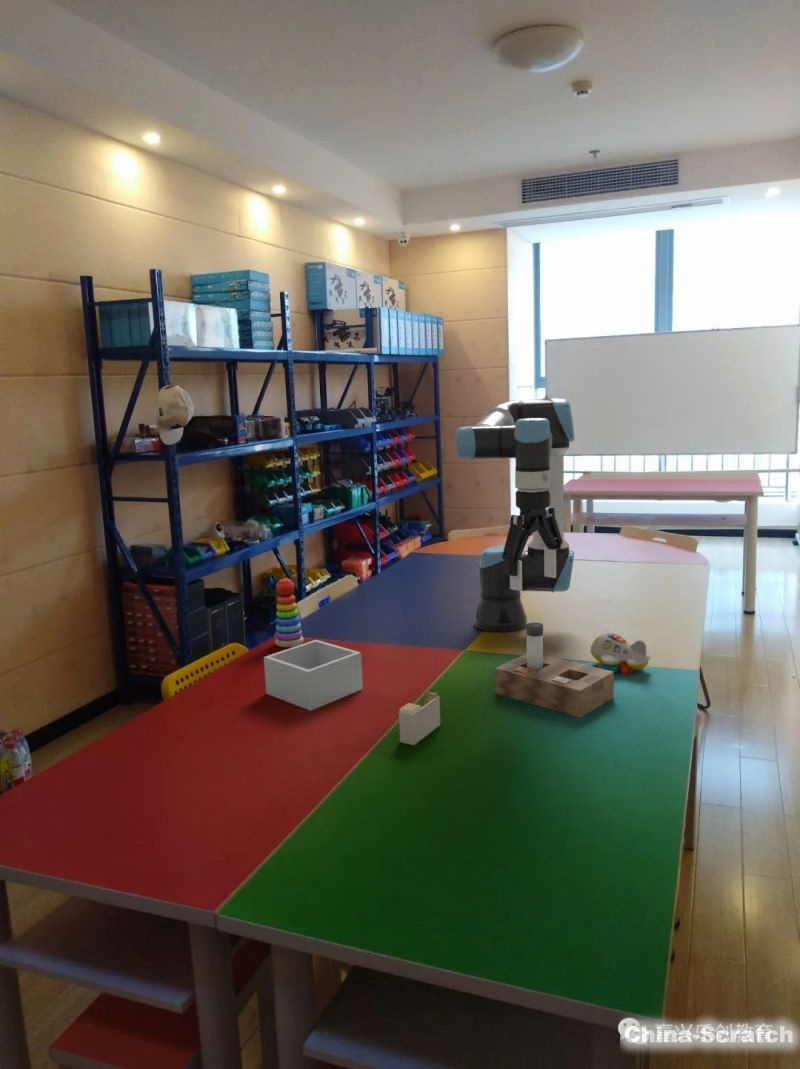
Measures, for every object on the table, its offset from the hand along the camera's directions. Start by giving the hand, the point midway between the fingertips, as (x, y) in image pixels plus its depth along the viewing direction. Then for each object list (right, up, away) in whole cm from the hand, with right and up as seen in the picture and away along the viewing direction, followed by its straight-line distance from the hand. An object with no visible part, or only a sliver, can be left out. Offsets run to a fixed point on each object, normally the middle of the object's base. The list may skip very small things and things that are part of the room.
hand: (533, 583), depth 177 cm
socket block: (+5, -25, 0) cm, 26 cm away
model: (-26, -30, -16) cm, 43 cm away
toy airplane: (+23, -22, +15) cm, 36 cm away
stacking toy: (-61, -20, +44) cm, 78 cm away
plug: (+1, -23, +3) cm, 23 cm away
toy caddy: (-50, -26, +8) cm, 57 cm away
